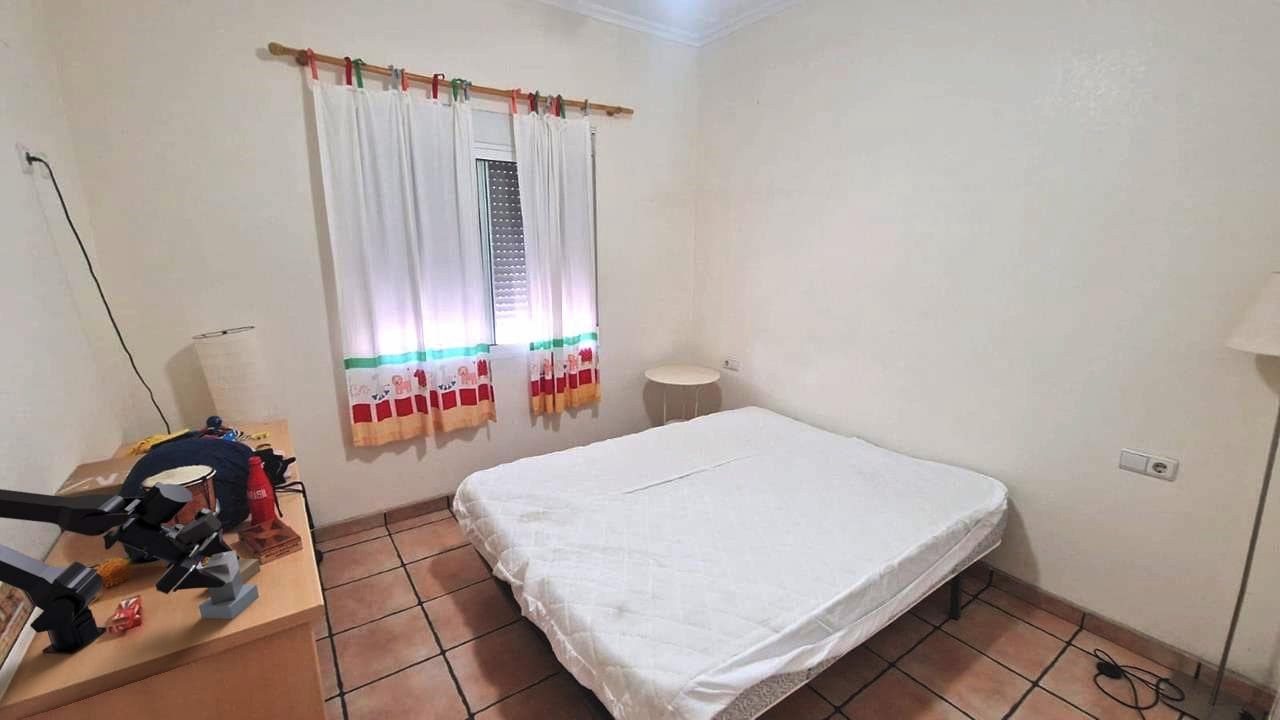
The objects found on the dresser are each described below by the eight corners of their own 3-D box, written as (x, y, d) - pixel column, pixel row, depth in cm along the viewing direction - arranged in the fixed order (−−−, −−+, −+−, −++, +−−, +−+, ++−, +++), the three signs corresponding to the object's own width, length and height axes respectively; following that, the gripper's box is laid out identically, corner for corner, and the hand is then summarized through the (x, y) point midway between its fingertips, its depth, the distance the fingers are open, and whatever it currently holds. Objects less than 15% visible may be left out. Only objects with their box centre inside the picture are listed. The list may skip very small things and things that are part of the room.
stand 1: (201, 617, 108) (198, 605, 107) (229, 595, 114) (226, 583, 114) (232, 618, 107) (230, 606, 106) (258, 596, 114) (256, 584, 113)
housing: (212, 604, 107) (203, 567, 105) (221, 590, 112) (212, 554, 109) (235, 599, 109) (227, 563, 106) (243, 585, 113) (235, 550, 111)
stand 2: (207, 588, 117) (205, 577, 116) (233, 569, 123) (230, 558, 123) (236, 589, 116) (234, 578, 116) (260, 570, 123) (258, 559, 122)
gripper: (163, 530, 95) (245, 567, 102) (202, 487, 112) (270, 521, 119) (118, 577, 94) (204, 611, 101) (164, 526, 111) (235, 558, 117)
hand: (231, 571), depth 109 cm, fingers open, 9 cm apart
